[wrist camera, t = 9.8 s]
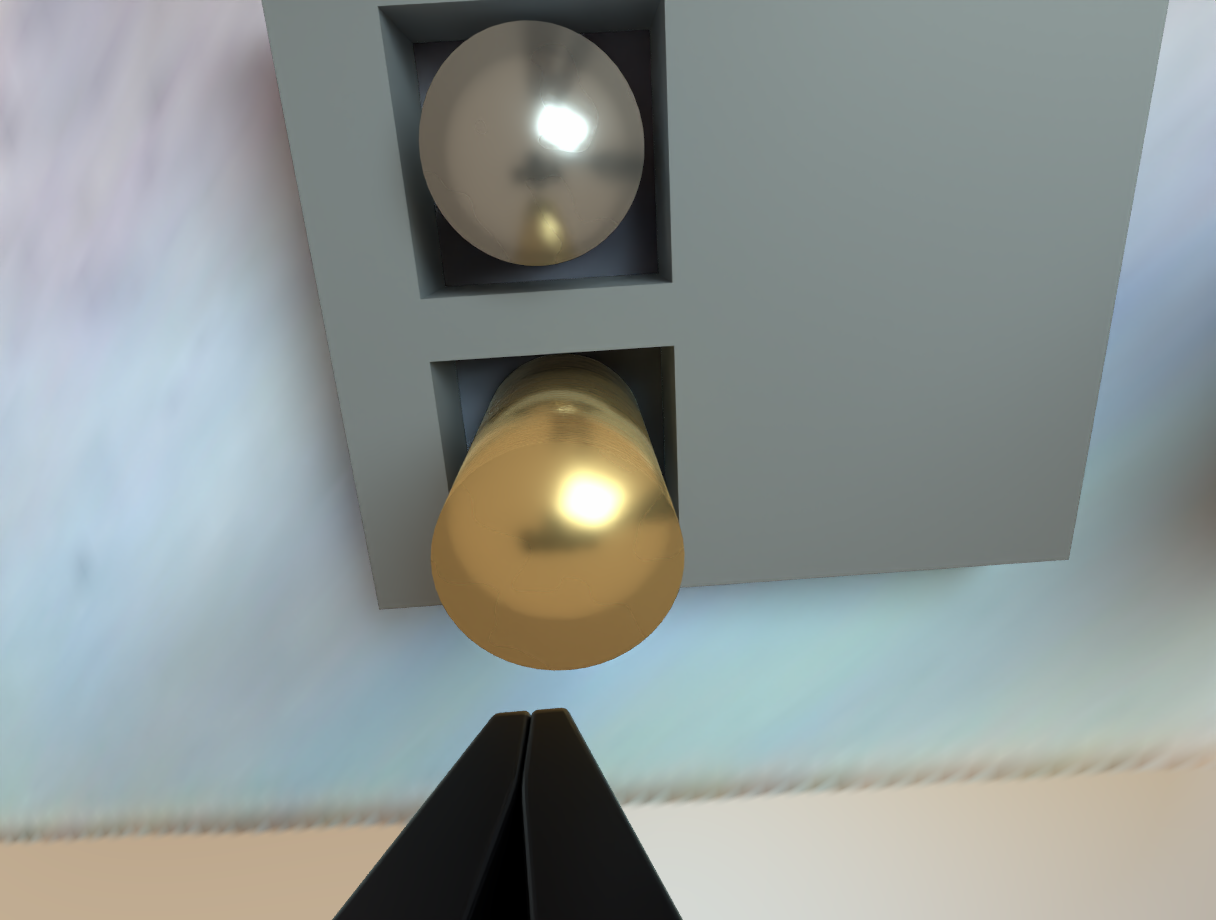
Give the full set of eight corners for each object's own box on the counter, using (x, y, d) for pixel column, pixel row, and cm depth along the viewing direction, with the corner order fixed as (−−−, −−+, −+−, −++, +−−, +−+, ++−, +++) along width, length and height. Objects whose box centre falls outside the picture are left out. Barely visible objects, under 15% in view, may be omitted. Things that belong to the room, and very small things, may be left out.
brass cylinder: (638, 347, 19) (680, 433, 11) (645, 496, 20) (687, 659, 13) (476, 359, 19) (411, 453, 11) (496, 508, 20) (450, 679, 13)
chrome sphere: (625, 59, 17) (639, 12, 13) (634, 249, 18) (649, 258, 14) (441, 71, 17) (401, 28, 13) (465, 261, 18) (436, 273, 14)
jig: (1079, -31, 16) (1183, -82, 14) (1002, 513, 21) (1068, 559, 18) (312, 14, 16) (255, -30, 13) (406, 555, 21) (379, 609, 18)
